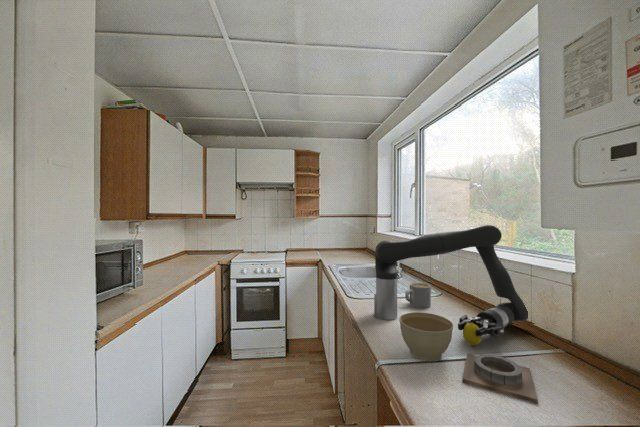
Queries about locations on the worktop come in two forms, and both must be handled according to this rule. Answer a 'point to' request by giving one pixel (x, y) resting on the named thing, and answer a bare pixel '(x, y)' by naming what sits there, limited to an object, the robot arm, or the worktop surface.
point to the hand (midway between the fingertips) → (468, 330)
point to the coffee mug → (419, 295)
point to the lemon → (471, 334)
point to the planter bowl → (426, 334)
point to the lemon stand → (499, 376)
